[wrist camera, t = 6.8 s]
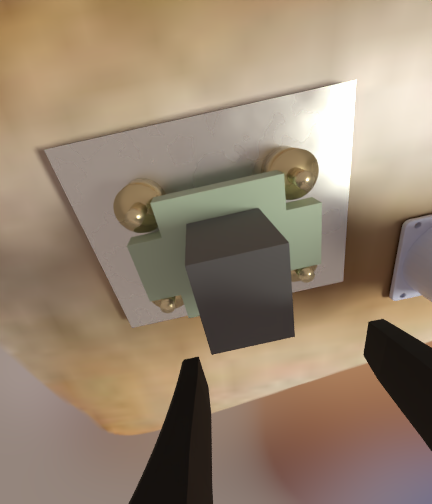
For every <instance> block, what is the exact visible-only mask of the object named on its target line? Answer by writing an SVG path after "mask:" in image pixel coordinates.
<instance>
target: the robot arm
mask: <svg viewBox="0 0 432 504" xmlns="http://www.w3.org/2000/svg"><path fill="white" fill-rule="evenodd" d="M416 223H417V224H416ZM415 224H416V225H415ZM420 295H423V296H424V297H426V298H427V299H428V300H430V301H431V302H432V214H431V215H427V216H422V217H418V218H413V219H409V220H407V221H405V222H404V223H403V225H402V229H401V235H400V240H399V246H398V251H397V257H396V262H395V268H394V273H393V278H392V284H391V289H390V295H389V297H390V298H391V299H392V300H394V301H397V300H402V299H406V298H411V297H415V296H420ZM364 357H365V359H366V360H367V362H368V364H369V365H370V367H371V369H372V370H373V372H374V374H375V375H376V377H377V379H378V380H379V381H380V383H381V384H382V386H383V387H384V388H385V390H386V391H387V392H388V393H389V395H390V396H391V398H392V399H393V400H394V402H395V403H396V404H397V405H398V407H399V408H400V409H401V411H402V412H403V413H404V415H405V416H406V417H407V419H408V420H409V421H410V423H411V424H412V425H413V427H414V428H415V429H416V431H417V432H418V433H419V434H420V436H421V437H422V438H423V440H424V441H425V443H426V444H427V445H428V447H429V448H430V449H431V451H432V348H431V347H429V346H428V345H426V344H424V343H423V342H421V341H419V340H418V339H416V338H414V337H413V336H411V335H409V334H408V333H406V332H404V331H403V330H401V329H399V328H398V327H396V326H394V325H393V324H391V323H389V322H388V321H386V320H384V319H380V320H375V321H370V322H369V323H368V329H367V336H366V342H365V348H364ZM211 442H212V439H211V408H210V398H209V389H208V384H207V381H206V378H205V375H204V372H203V369H202V366H201V363H200V360H199V357H195V358H190V359H185V360H184V361H183V362H182V366H181V370H180V374H179V378H178V381H177V385H176V388H175V391H174V395H173V398H172V401H171V404H170V407H169V410H168V413H167V415H166V418H165V421H164V424H163V426H162V429H161V431H160V434H159V437H158V439H157V442H156V444H155V447H154V449H153V452H152V454H151V457H150V459H149V461H148V463H147V466H146V468H145V470H144V472H143V475H142V477H141V479H140V481H139V483H138V486H137V488H136V490H135V492H134V494H133V496H132V498H131V500H130V502H129V504H213V494H212V446H211V444H212V443H211Z"/></svg>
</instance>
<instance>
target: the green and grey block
mask: <svg viewBox="0 0 432 504" xmlns="http://www.w3.org/2000/svg"><path fill="white" fill-rule="evenodd" d="M150 204H151V207H152V210H153V213H154V216H155V219H156V222H157V225H158V228H159V231H157V232H153V233H148V234H144V235H139V236H135V237H131V239H130V241H129V242H128V244H127V248H128V250H129V253H130V255H131V258H132V260H133V262H134V265H135V267H136V270H137V272H138V274H139V277H140V279H141V282H142V284H143V286H144V289H145V291H146V293H147V296H148V298H149V301H150V302H151V301H155V300H160V299H164V298H169V297H174V296H178V295H181V296H182V299H183V302H184V305H185V308H186V311H187V314H188V317H189V318H192V317H197V316H200V318H201V321H202V324H203V327H204V331H205V334H206V337H207V341H208V344H209V347H210V350H211V354H212V355H213V354H217V353H222V352H226V351H231V350H235V349H240V348H245V347H249V346H254V345H258V344H263V343H267V342H272V341H276V340H281V339H285V338H290V337H295V333H294V316H293V299H292V282H291V270H295V269H300V268H305V267H309V266H314V265H318V264H321V236H322V202H320V201H318V200H316V199H315V198H313V197H310V198H305V199H301V200H296V201H292V202H287V203H286V198H285V181H284V173H282V172H280V171H278V170H274V171H269V172H265V173H260V174H256V175H251V176H247V177H242V178H238V179H234V180H229V181H225V182H220V183H216V184H211V185H207V186H202V187H198V188H193V189H189V190H184V191H180V192H175V193H171V194H166V195H162V196H157V197H153V199H152V201H151V203H150Z"/></svg>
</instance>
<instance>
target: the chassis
mask: <svg viewBox="0 0 432 504" xmlns="http://www.w3.org/2000/svg"><path fill="white" fill-rule="evenodd" d="M355 92H356V80H353V81H348V82H344V83H339V84H335V85H330V86H326V87H321V88H317V89H312V90H308V91H304V92H299V93H295V94H290V95H286V96H281V97H277V98H272V99H268V100H263V101H259V102H254V103H250V104H246V105H241V106H237V107H232V108H228V109H223V110H219V111H214V112H210V113H205V114H201V115H196V116H192V117H188V118H183V119H179V120H174V121H170V122H165V123H161V124H156V125H152V126H147V127H143V128H138V129H134V130H130V131H125V132H121V133H116V134H112V135H107V136H103V137H98V138H94V139H89V140H85V141H80V142H76V143H72V144H67V145H63V146H58V147H54V148H49V149H45V150H44V151H45V153H46V155H47V157H48V159H49V161H50V164H51V166H52V168H53V170H54V172H55V174H56V176H57V178H58V180H59V182H60V184H61V186H62V188H63V190H64V192H65V194H66V196H67V198H68V200H69V202H70V204H71V206H72V208H73V210H74V212H75V214H76V216H77V218H78V220H79V222H80V224H81V226H82V228H83V230H84V232H85V234H86V236H87V238H88V240H89V242H90V244H91V246H92V248H93V250H94V252H95V254H96V256H97V258H98V260H99V262H100V264H101V266H102V268H103V270H104V272H105V274H106V276H107V278H108V280H109V282H110V284H111V286H112V288H113V290H114V292H115V294H116V296H117V298H118V300H119V303H120V305H121V307H122V309H123V311H124V313H125V315H126V317H127V319H128V321H129V323H130V325H131V327H132V328H134V327H138V326H143V325H147V324H152V323H157V322H161V321H166V320H170V319H175V318H179V317H184V316H188V314H187V311H186V308H185V305H184V302H183V299H182V296H181V295H178V296H174V297H169V298H164V299H160V300H155V301H151V302H150V301H149V298H148V296H147V293H146V291H145V289H144V286H143V284H142V282H141V279H140V277H139V274H138V272H137V270H136V267H135V265H134V262H133V260H132V258H131V255H130V253H129V250H128V248H127V244H128V242H129V241H130V239H131V237H135V236H139V235H144V234H148V233H153V232H157V231H159V228H158V225H157V222H156V219H155V216H154V213H153V210H152V207H151V204H150V203H151V201H152V199H153V197H157V196H162V195H166V194H171V193H175V192H180V191H184V190H189V189H193V188H198V187H202V186H207V185H211V184H216V183H220V182H225V181H229V180H234V179H238V178H242V177H247V176H251V175H256V174H260V173H265V172H269V171H274V170H278V171H280V172H282V173H284V181H285V198H286V203H287V202H292V201H296V200H301V199H305V198H310V197H313V198H315V199H316V200H318V201H320V202H322V236H321V264H318V265H314V266H309V267H305V268H300V269H295V270H291V282H292V292H297V291H302V290H306V289H311V288H315V287H320V286H324V285H329V284H333V283H338V282H342V281H343V276H344V260H345V245H346V230H347V214H348V199H349V184H350V169H351V153H352V138H353V123H354V107H355Z"/></svg>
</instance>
